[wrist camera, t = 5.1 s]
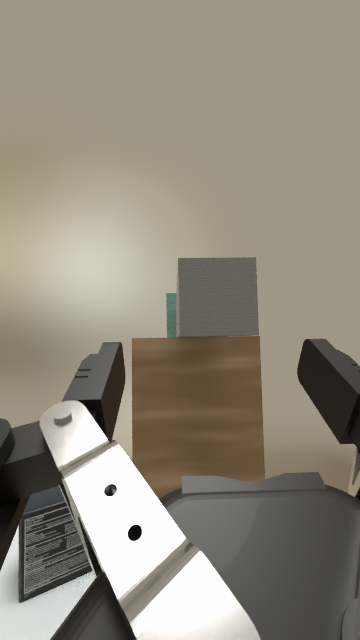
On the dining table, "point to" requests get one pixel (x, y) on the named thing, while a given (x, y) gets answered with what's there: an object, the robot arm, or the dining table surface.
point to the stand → (197, 409)
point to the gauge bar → (214, 298)
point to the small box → (48, 545)
